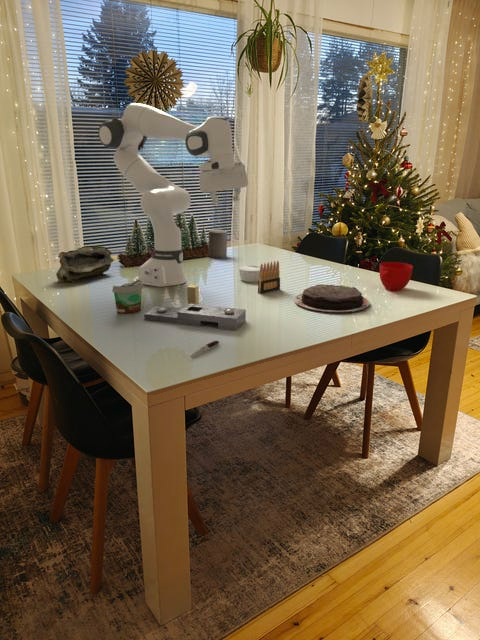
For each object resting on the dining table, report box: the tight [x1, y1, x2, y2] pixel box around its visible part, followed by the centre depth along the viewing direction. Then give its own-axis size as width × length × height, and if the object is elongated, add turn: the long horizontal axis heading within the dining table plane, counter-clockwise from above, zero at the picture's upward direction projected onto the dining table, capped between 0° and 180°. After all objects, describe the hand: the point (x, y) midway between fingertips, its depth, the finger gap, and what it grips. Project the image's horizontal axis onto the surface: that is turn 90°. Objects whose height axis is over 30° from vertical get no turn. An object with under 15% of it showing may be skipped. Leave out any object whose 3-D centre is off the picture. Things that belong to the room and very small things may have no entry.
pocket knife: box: [189, 340, 221, 358], centre depth 139 cm, size 14×1×2 cm, turn 146°
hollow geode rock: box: [56, 245, 115, 283], centre depth 218 cm, size 28×13×15 cm
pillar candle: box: [208, 229, 228, 259], centre depth 263 cm, size 10×10×15 cm
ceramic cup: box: [379, 261, 414, 292], centre depth 203 cm, size 13×17×10 cm
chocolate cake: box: [293, 283, 371, 315], centre depth 185 cm, size 28×28×7 cm
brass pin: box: [186, 284, 200, 305], centre depth 177 cm, size 3×3×8 cm
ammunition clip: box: [257, 260, 281, 295], centre depth 199 cm, size 11×2×12 cm, turn 130°
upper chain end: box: [177, 303, 247, 332], centre depth 162 cm, size 20×10×5 cm, turn 72°
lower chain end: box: [143, 305, 208, 327], centre depth 166 cm, size 20×10×3 cm, turn 72°
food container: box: [112, 279, 144, 315], centre depth 172 cm, size 12×6×10 cm, turn 148°
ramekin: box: [238, 265, 261, 283], centre depth 218 cm, size 11×11×5 cm
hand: (226, 202), depth 185 cm, fingers open, 8 cm apart
